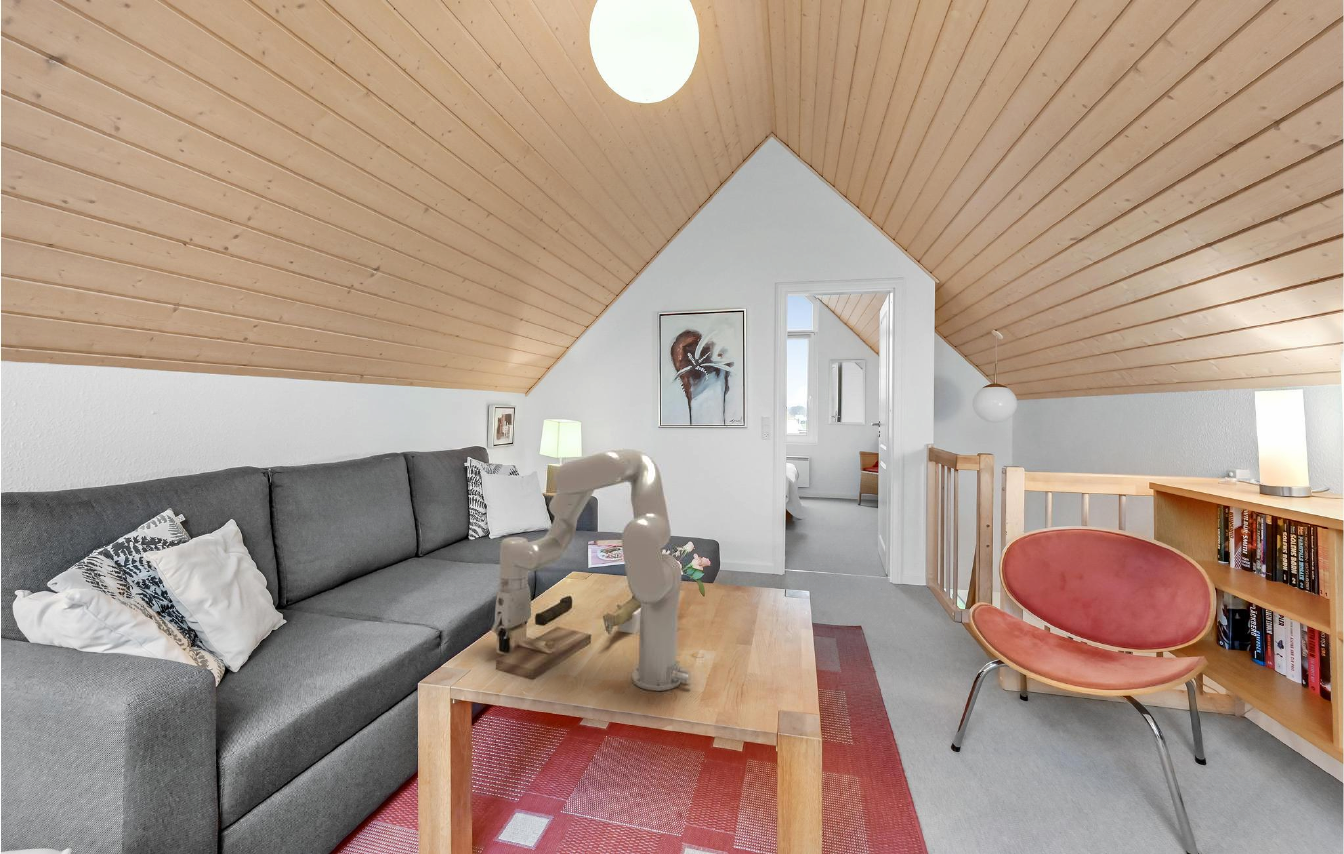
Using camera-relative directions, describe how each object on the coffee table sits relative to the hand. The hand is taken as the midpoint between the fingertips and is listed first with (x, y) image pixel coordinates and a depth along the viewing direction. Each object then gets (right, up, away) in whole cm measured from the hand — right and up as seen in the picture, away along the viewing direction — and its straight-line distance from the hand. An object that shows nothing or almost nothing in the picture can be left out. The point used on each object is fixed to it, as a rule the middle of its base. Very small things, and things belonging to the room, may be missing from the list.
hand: (511, 647), depth 152 cm
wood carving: (+31, -2, +18) cm, 36 cm away
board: (+10, -2, -1) cm, 10 cm away
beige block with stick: (+5, -2, -2) cm, 6 cm away
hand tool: (+6, -2, +29) cm, 30 cm away
